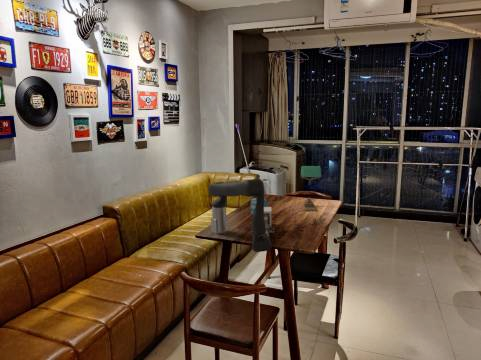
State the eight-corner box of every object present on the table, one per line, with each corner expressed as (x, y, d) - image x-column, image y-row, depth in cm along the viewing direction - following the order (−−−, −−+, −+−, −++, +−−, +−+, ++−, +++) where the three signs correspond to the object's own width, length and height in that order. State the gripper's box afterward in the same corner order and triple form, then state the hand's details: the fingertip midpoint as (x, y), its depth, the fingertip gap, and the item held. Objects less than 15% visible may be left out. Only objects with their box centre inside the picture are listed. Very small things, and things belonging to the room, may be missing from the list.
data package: (250, 214, 277) (250, 199, 275) (252, 212, 282) (252, 198, 279) (265, 215, 274) (266, 200, 272) (267, 213, 279) (267, 198, 276)
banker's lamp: (318, 205, 302) (319, 164, 296) (321, 212, 282) (322, 168, 276) (299, 205, 304) (300, 164, 297) (301, 211, 283) (302, 168, 277)
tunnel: (255, 232, 234) (255, 211, 232) (255, 227, 245) (255, 206, 242) (271, 232, 233) (271, 211, 231) (271, 227, 244) (271, 207, 241)
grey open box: (255, 227, 245) (255, 218, 244) (256, 223, 254) (256, 215, 253) (271, 227, 244) (271, 219, 243) (271, 223, 253) (271, 215, 252)
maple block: (258, 235, 228) (258, 219, 226) (259, 229, 240) (259, 214, 238) (267, 235, 228) (267, 219, 226) (267, 230, 239) (267, 214, 237)
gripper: (274, 229, 209) (274, 220, 225) (250, 228, 210) (251, 220, 226) (274, 241, 210) (274, 232, 226) (250, 240, 211) (251, 231, 227)
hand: (262, 226), depth 226 cm, fingers open, 8 cm apart
